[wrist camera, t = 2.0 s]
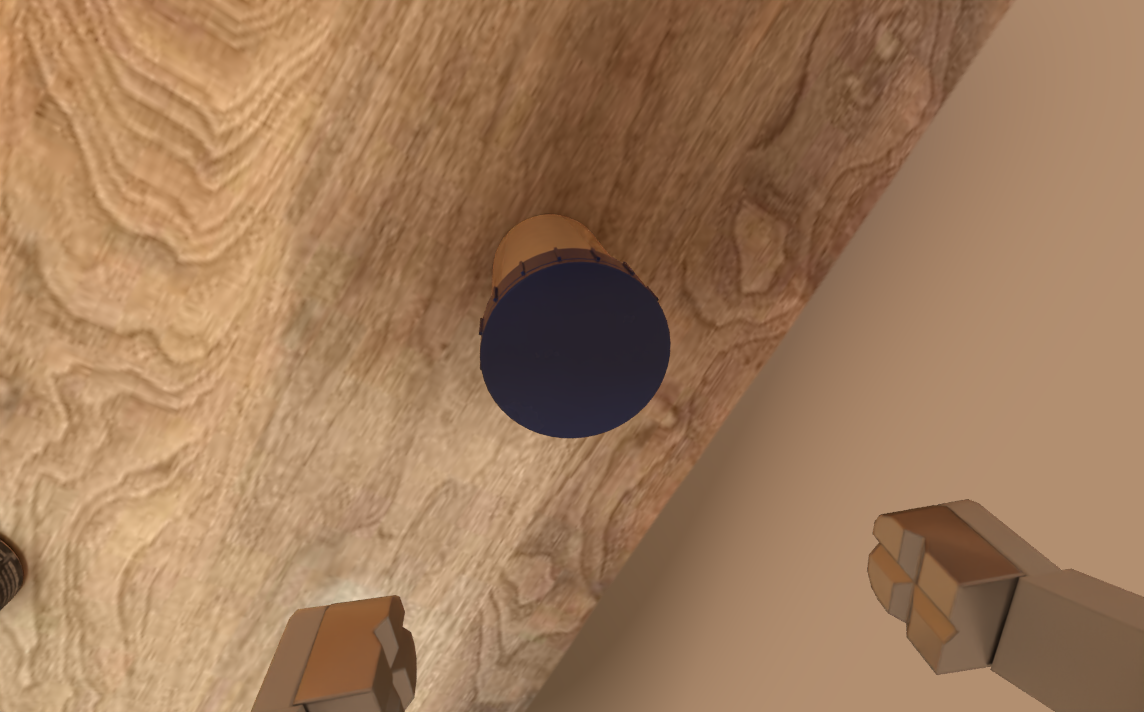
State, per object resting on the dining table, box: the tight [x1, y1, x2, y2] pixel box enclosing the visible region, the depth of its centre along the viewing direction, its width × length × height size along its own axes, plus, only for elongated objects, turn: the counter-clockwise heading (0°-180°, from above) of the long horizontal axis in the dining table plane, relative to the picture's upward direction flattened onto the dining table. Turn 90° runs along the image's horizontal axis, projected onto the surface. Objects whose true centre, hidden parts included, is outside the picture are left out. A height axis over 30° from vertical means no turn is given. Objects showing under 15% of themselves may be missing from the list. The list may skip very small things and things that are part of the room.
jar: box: [492, 214, 610, 293], centre depth 22 cm, size 5×5×10 cm
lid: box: [479, 247, 671, 438], centre depth 18 cm, size 6×6×2 cm
